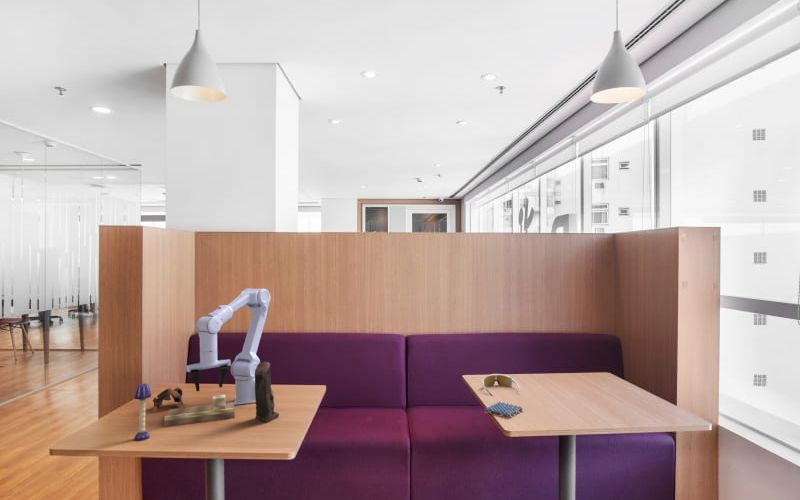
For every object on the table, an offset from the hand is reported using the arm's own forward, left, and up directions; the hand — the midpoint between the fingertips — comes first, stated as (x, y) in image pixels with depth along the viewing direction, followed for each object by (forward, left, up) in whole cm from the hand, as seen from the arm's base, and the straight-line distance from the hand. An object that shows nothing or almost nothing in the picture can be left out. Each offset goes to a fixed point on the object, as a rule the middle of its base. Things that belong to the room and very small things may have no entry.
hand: (209, 388), depth 164 cm
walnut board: (+3, 0, -10) cm, 10 cm away
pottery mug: (+14, -16, -10) cm, 24 cm away
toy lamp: (+19, +14, -10) cm, 25 cm away
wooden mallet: (-3, 0, -8) cm, 8 cm away
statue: (-18, +12, -10) cm, 24 cm away
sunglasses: (-110, +14, -10) cm, 112 cm away
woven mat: (-98, +37, -10) cm, 105 cm away
